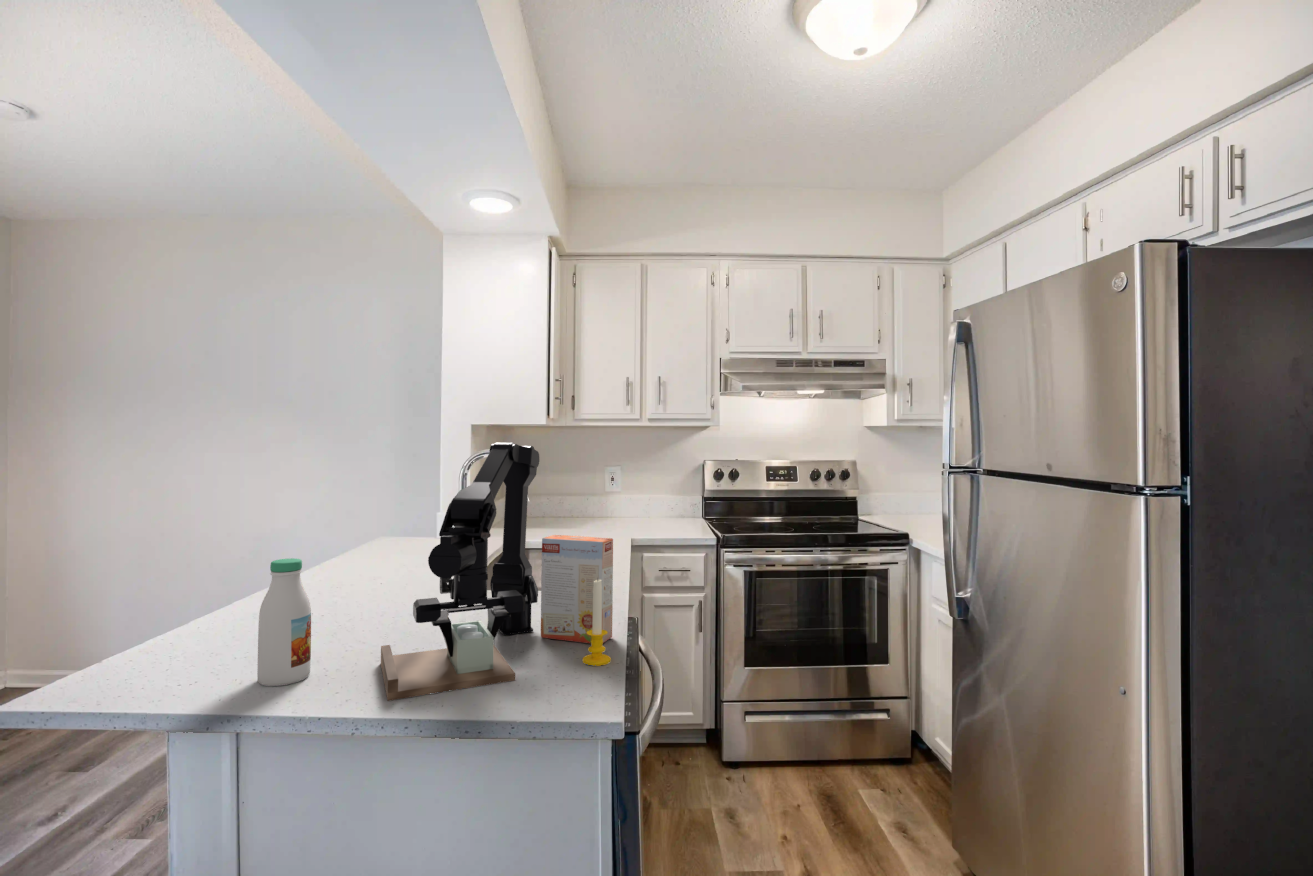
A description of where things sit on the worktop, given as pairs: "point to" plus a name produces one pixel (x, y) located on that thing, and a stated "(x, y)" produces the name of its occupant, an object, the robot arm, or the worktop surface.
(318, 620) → the worktop surface
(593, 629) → the candle
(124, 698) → the worktop surface
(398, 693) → the walnut shelf
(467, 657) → the pale green crate
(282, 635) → the milk bottle
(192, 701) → the worktop surface
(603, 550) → the cracker box
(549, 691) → the worktop surface
